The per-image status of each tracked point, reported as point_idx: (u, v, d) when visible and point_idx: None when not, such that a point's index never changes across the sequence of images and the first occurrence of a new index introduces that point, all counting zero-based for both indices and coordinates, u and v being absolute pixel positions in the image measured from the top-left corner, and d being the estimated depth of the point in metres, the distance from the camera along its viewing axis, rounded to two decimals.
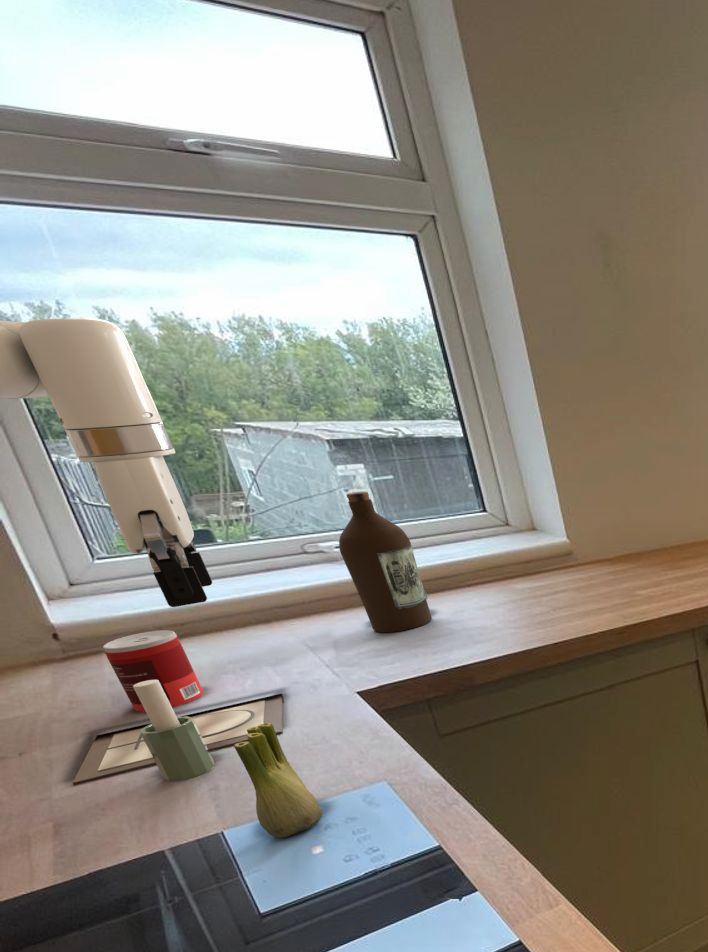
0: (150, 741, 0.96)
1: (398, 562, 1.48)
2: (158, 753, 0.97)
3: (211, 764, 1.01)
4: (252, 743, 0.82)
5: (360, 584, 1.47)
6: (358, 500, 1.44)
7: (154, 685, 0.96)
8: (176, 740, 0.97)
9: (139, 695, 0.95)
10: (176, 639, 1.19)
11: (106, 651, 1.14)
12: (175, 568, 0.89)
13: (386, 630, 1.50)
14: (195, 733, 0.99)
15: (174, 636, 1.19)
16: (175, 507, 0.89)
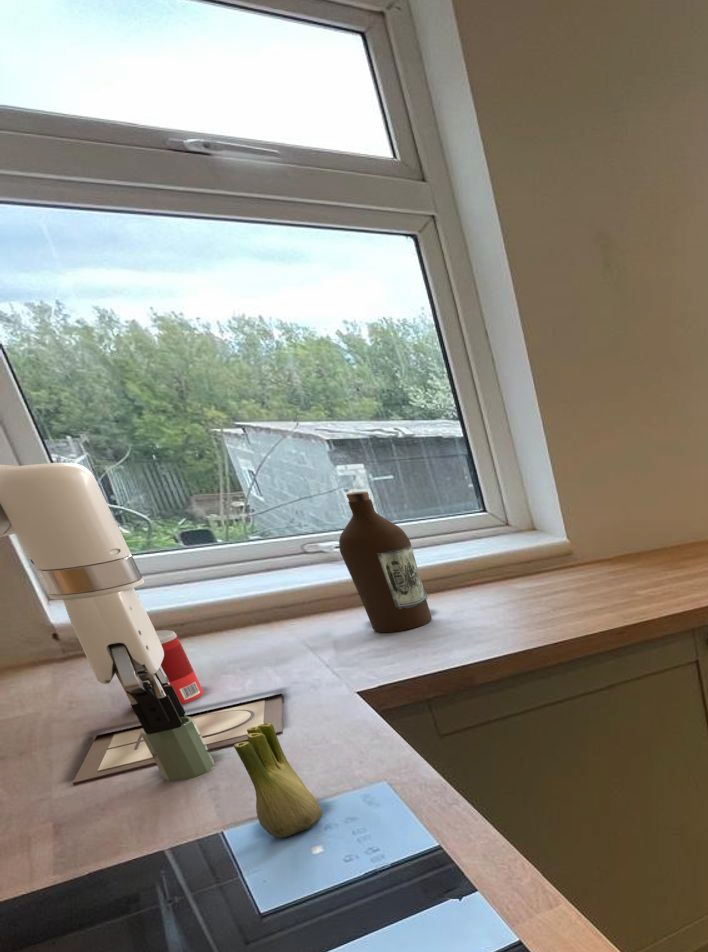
0: (150, 741, 0.96)
1: (398, 562, 1.48)
2: (158, 753, 0.97)
3: (211, 764, 1.01)
4: (252, 743, 0.82)
5: (360, 584, 1.47)
6: (358, 500, 1.44)
7: None
8: (176, 740, 0.97)
9: None
10: (176, 639, 1.19)
11: None
12: (151, 699, 0.94)
13: (386, 630, 1.50)
14: (195, 733, 0.99)
15: (174, 636, 1.19)
16: (143, 637, 0.92)
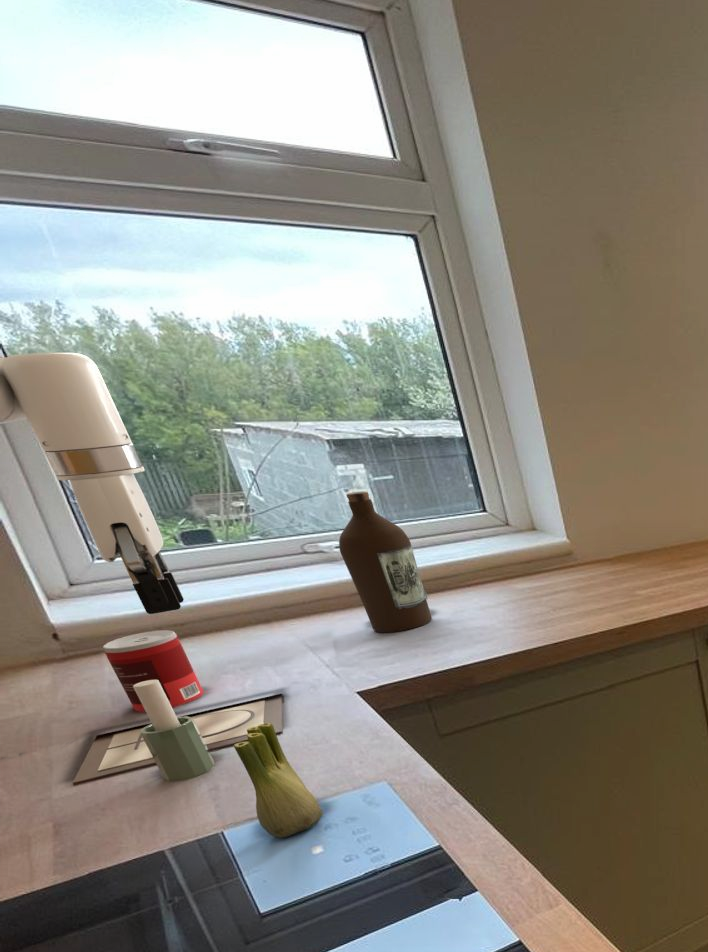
0: (150, 741, 0.96)
1: (398, 562, 1.48)
2: (158, 753, 0.97)
3: (211, 764, 1.01)
4: (252, 743, 0.82)
5: (360, 584, 1.47)
6: (358, 500, 1.44)
7: (154, 685, 0.96)
8: (176, 740, 0.97)
9: (139, 695, 0.95)
10: (176, 639, 1.19)
11: (106, 651, 1.14)
12: (152, 580, 1.01)
13: (386, 630, 1.50)
14: (195, 733, 0.99)
15: (174, 636, 1.19)
16: (144, 520, 0.99)
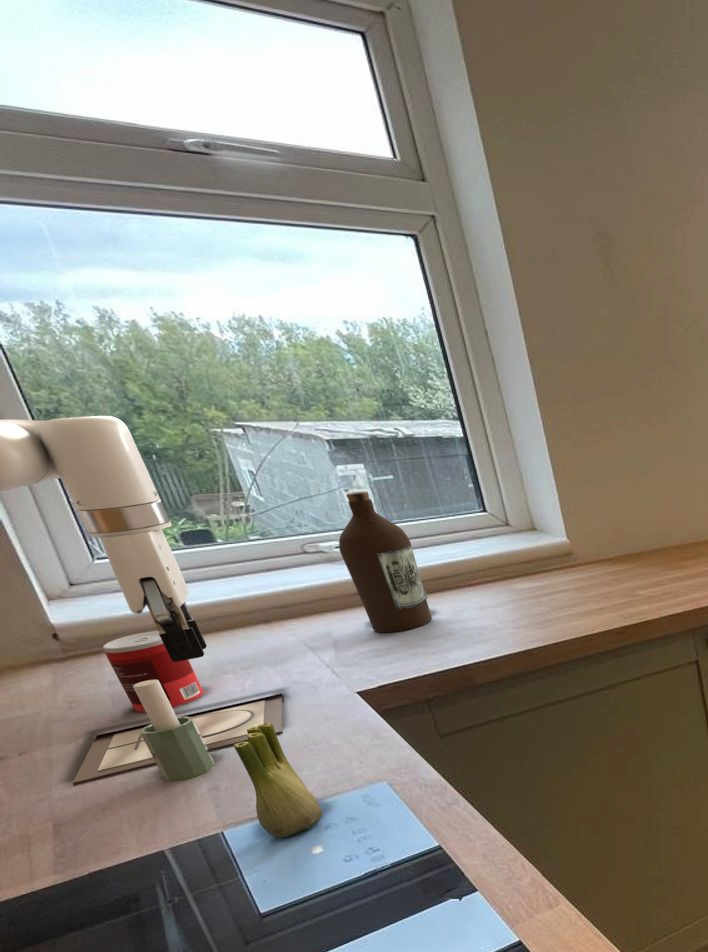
0: (150, 741, 0.96)
1: (398, 562, 1.48)
2: (158, 753, 0.97)
3: (211, 764, 1.01)
4: (252, 743, 0.82)
5: (360, 584, 1.47)
6: (358, 500, 1.44)
7: (154, 685, 0.96)
8: (176, 740, 0.97)
9: (139, 695, 0.95)
10: None
11: (106, 651, 1.14)
12: (177, 630, 1.06)
13: (386, 630, 1.50)
14: (195, 733, 0.99)
15: None
16: (171, 573, 1.03)
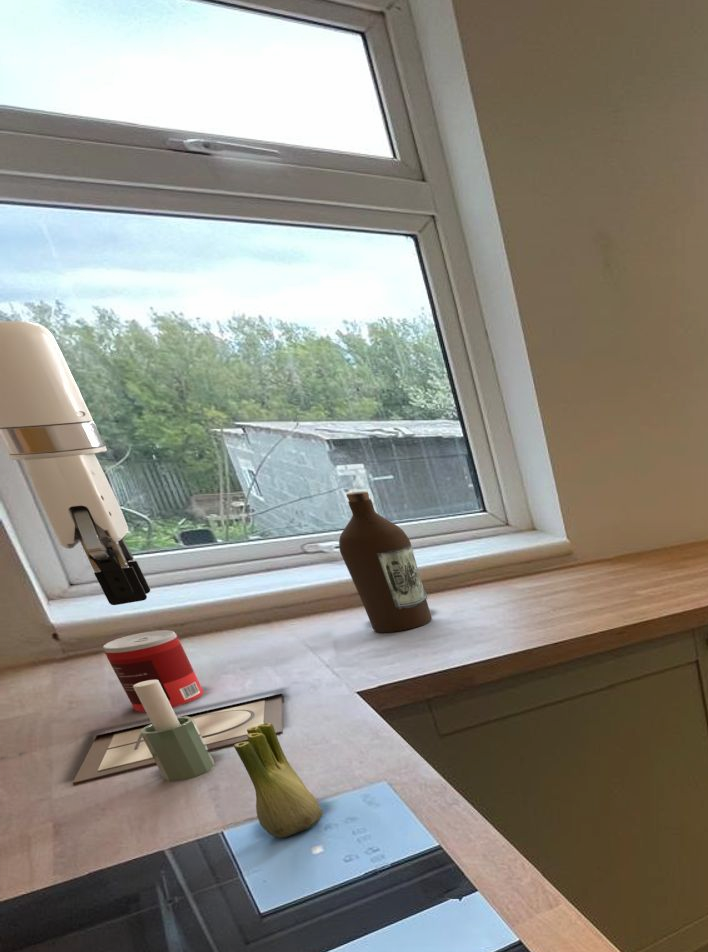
0: (150, 741, 0.96)
1: (398, 562, 1.48)
2: (158, 753, 0.97)
3: (211, 764, 1.01)
4: (252, 743, 0.82)
5: (360, 584, 1.47)
6: (358, 500, 1.44)
7: (154, 685, 0.96)
8: (176, 740, 0.97)
9: (139, 695, 0.95)
10: (176, 639, 1.19)
11: (106, 651, 1.14)
12: (115, 568, 0.94)
13: (386, 630, 1.50)
14: (195, 733, 0.99)
15: (174, 636, 1.19)
16: (106, 503, 0.92)
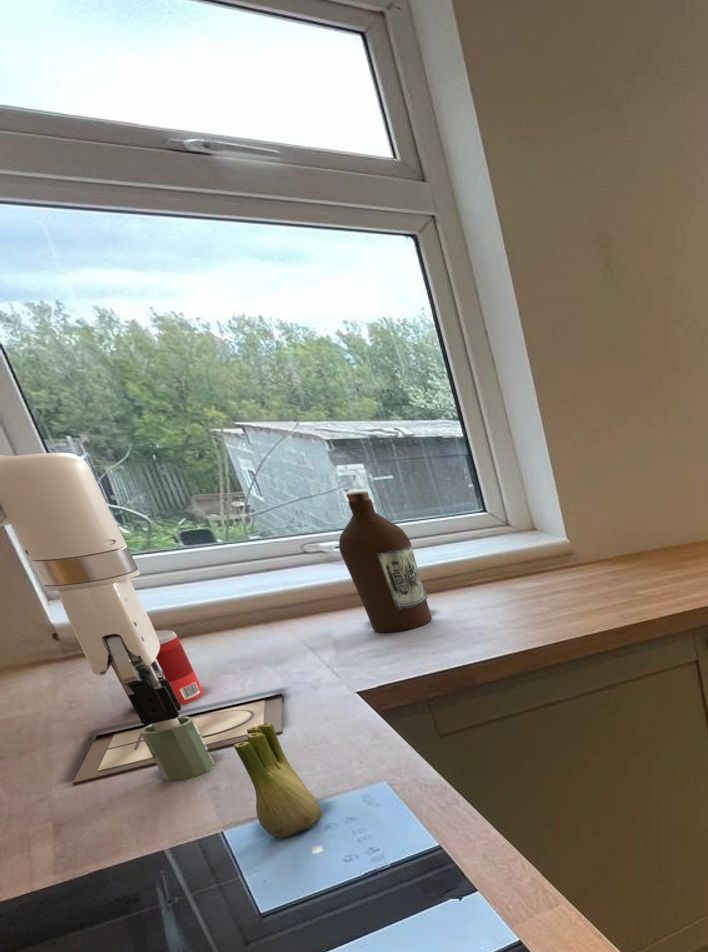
0: (150, 741, 0.96)
1: (398, 562, 1.48)
2: (158, 753, 0.97)
3: (211, 764, 1.01)
4: (252, 743, 0.82)
5: (360, 584, 1.47)
6: (358, 500, 1.44)
7: None
8: (176, 740, 0.97)
9: None
10: (176, 639, 1.19)
11: None
12: (148, 690, 0.94)
13: (386, 630, 1.50)
14: (195, 733, 0.99)
15: (174, 636, 1.19)
16: (139, 628, 0.92)
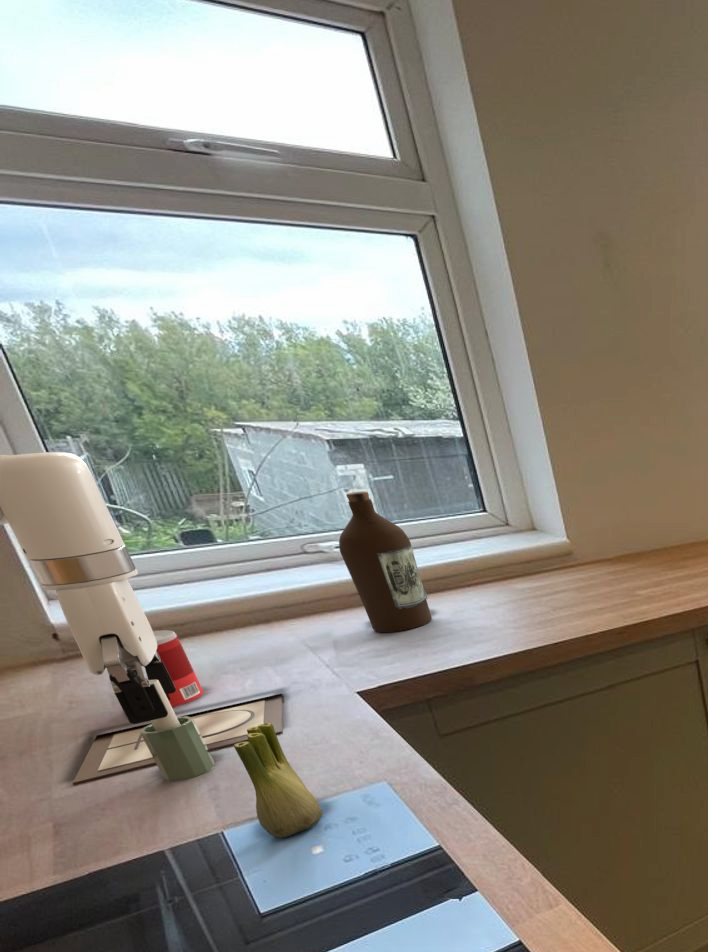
0: (150, 741, 0.96)
1: (398, 562, 1.48)
2: (158, 753, 0.97)
3: (211, 764, 1.01)
4: (252, 743, 0.82)
5: (360, 584, 1.47)
6: (358, 500, 1.44)
7: None
8: (176, 740, 0.97)
9: None
10: (176, 639, 1.19)
11: None
12: (136, 688, 0.91)
13: (386, 630, 1.50)
14: (195, 733, 0.99)
15: (174, 636, 1.19)
16: (136, 628, 0.92)
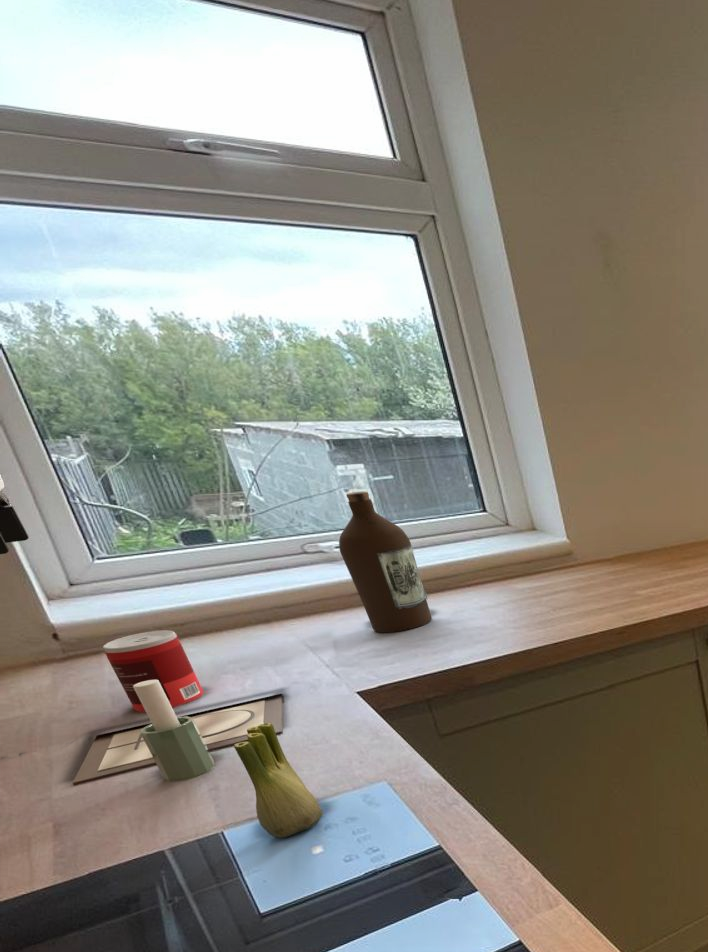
0: (150, 741, 0.96)
1: (398, 562, 1.48)
2: (158, 753, 0.97)
3: (211, 764, 1.01)
4: (252, 743, 0.82)
5: (360, 584, 1.47)
6: (358, 500, 1.44)
7: (154, 685, 0.96)
8: (176, 740, 0.97)
9: (139, 695, 0.95)
10: (176, 639, 1.19)
11: (106, 651, 1.14)
12: None
13: (386, 630, 1.50)
14: (195, 733, 0.99)
15: (174, 636, 1.19)
16: None
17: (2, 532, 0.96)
